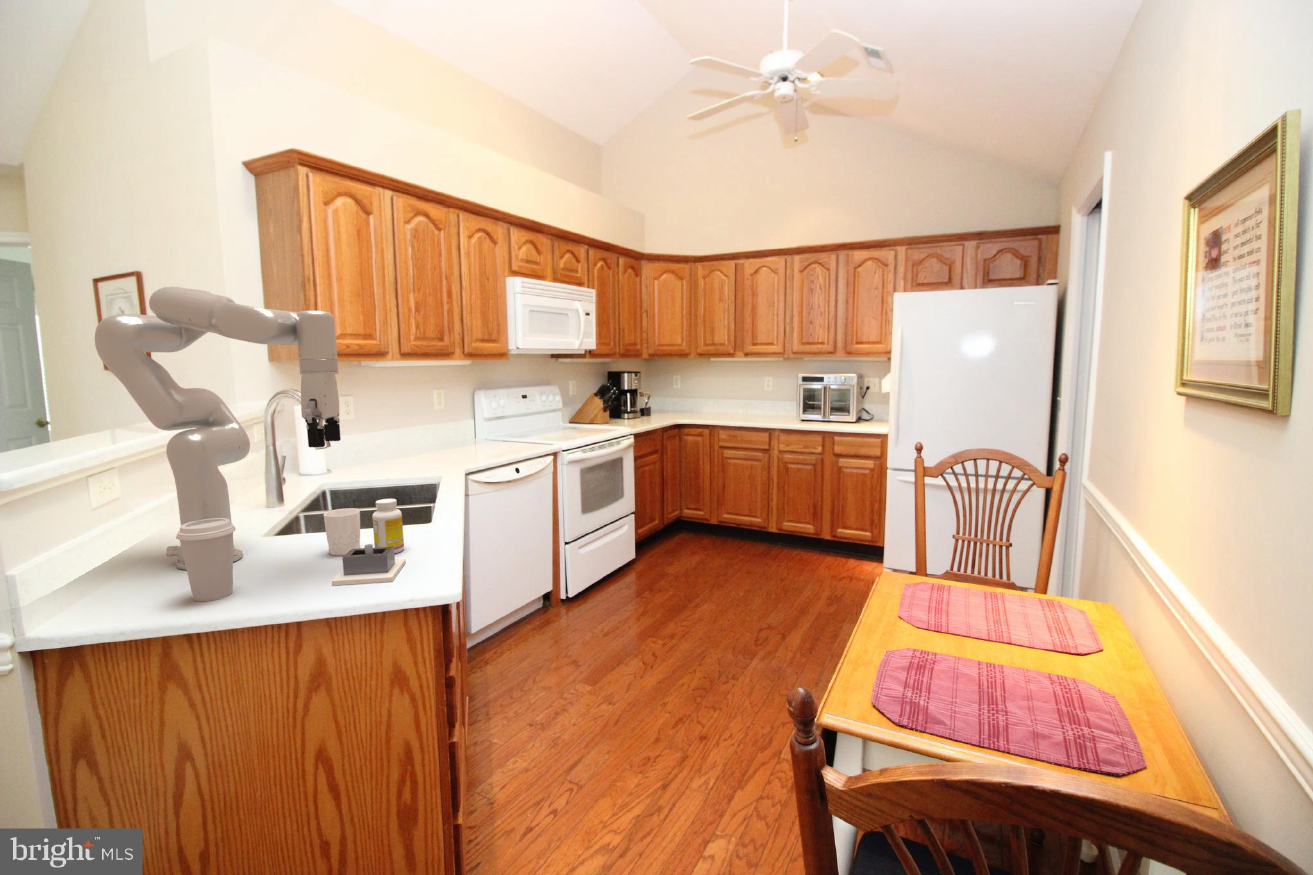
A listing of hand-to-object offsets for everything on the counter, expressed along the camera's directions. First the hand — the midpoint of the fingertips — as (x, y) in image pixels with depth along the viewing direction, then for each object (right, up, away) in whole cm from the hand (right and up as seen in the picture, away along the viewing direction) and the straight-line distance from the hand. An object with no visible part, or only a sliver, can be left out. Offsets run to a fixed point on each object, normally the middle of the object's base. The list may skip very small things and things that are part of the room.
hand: (325, 443), depth 136 cm
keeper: (+11, -29, -2) cm, 31 cm away
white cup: (-2, -27, +13) cm, 30 cm away
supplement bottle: (+9, -27, +13) cm, 31 cm away
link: (+11, -28, -3) cm, 30 cm away
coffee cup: (-15, -31, -14) cm, 37 cm away
